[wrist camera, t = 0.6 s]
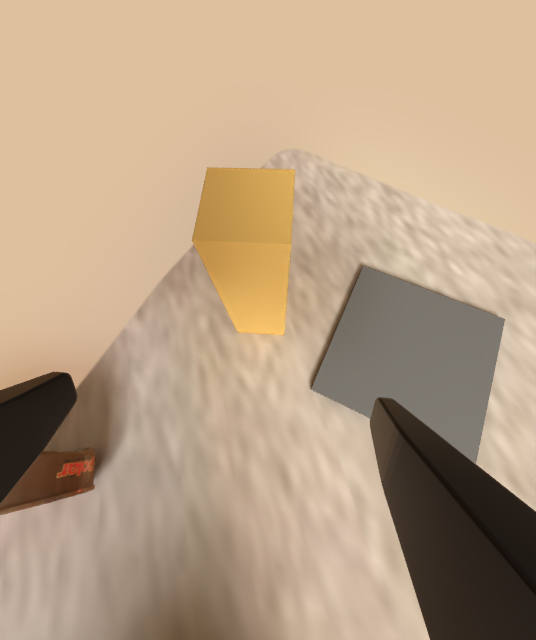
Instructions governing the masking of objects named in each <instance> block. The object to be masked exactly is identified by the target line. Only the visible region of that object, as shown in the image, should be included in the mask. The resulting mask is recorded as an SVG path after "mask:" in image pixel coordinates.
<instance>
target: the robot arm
mask: <svg viewBox="0 0 536 640" xmlns="http://www.w3.org/2000/svg"><path fill="white" fill-rule="evenodd" d="M76 401H77V392H76V389H75V386H74V383H73V380H72V378H71V376H70V375H69V374H68V373H63V372H52V373H49V374H46V375H43V376H40V377H37V378H34V379H31V380H29V381H26V382H23V383H20V384H17V385H14V386H12V387H9V388H6V389H3V390H0V504H1V503H2V502H3V500H4V499H5V498H6V497H7V495H8V494H9V493H10V492H11V490H12V489H13V488H14V487H15V485H16V484H17V483H18V482H19V480H20V479H21V478H22V477H23V475H24V474H25V473H26V472H27V470H28V469H29V468H30V467H31V465H32V464H33V463H34V462H35V460H36V459H37V458H38V456H39V455H40V454H41V453H42V451H43V450H44V448H45V447H46V446H47V444H48V443H49V441H50V440H51V438H52V437H53V435H54V434H55V432H56V431H57V430H58V428H59V427H60V425H61V424H62V422H63V421H64V419H65V418H66V416H67V415H68V413H69V412H70V410H71V409H72V407H73V406H74V404H75V403H76ZM370 429H371V434H372V439H373V444H374V449H375V454H376V459H377V463H378V468H379V473H380V478H381V482H382V486H383V490H384V493H385V497H386V500H387V503H388V506H389V509H390V513H391V516H392V519H393V522H394V525H395V529H396V532H397V535H398V538H399V541H400V545H401V548H402V551H403V554H404V557H405V561H406V564H407V567H408V570H409V573H410V577H411V580H412V583H413V586H414V589H415V593H416V596H417V599H418V602H419V605H420V609H421V612H422V615H423V618H424V621H425V625H426V628H427V631H428V634H429V638H430V640H536V511H534V510H533V509H532V508H531V507H529V506H528V505H527V504H526V503H524V502H523V501H522V500H520V499H519V498H518V497H517V496H515V495H514V494H513V493H512V492H510V491H509V490H508V489H507V488H505V487H504V486H503V485H502V484H500V483H499V482H498V481H496V480H495V479H494V478H493V477H491V476H490V475H489V474H488V473H486V472H485V471H484V470H483V469H481V468H480V467H479V466H478V465H476V464H475V463H474V462H472V461H471V460H470V459H469V458H467V457H466V456H465V455H464V454H462V453H461V452H460V451H459V450H457V449H456V448H455V447H454V446H452V445H451V444H450V443H448V442H447V441H446V440H445V439H443V438H442V437H441V436H440V435H438V434H437V433H436V432H435V431H433V430H432V429H431V428H430V427H428V426H427V425H426V424H424V423H423V422H422V421H421V420H419V419H418V418H417V417H416V416H414V415H413V414H412V413H411V412H409V411H408V410H407V409H406V408H404V407H403V406H402V405H400V404H399V403H398V402H397V401H395V400H394V399H392V398H385V397H378V398H376V400H375V403H374V406H373V410H372V414H371V418H370Z"/></svg>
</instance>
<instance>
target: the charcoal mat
mask: <svg viewBox="0 0 536 640" xmlns="http://www.w3.org/2000/svg"><path fill="white" fill-rule="evenodd" d="M504 321H505V319H503V318H501V317H498V316H495V315H493V314H490V313H488V312H485V311H482V310H480V309H477V308H474V307H472V306H469V305H466V304H464V303H461V302H458V301H456V300H453V299H451V298H448V297H445V296H443V295H440V294H437V293H435V292H432V291H429V290H427V289H424V288H421V287H419V286H416V285H414V284H411V283H408V282H406V281H403V280H400V279H398V278H395V277H392V276H390V275H387V274H385V273H382V272H379V271H377V270H374V269H371V268H369V267H366V266H363V268H362V269H361V272H360V274H359V276H358V279H357V281H356V283H355V286H354V288H353V291H352V293H351V295H350V298H349V300H348V302H347V305H346V307H345V309H344V312H343V314H342V317H341V319H340V321H339V324H338V326H337V328H336V331H335V333H334V335H333V338H332V340H331V342H330V345H329V347H328V350H327V352H326V354H325V357H324V359H323V361H322V364H321V366H320V368H319V371H318V373H317V375H316V378H315V380H314V383H313V385H312V387H311V390H313V391H315V392H318V393H320V394H322V395H324V396H326V397H328V398H330V399H332V400H334V401H336V402H338V403H340V404H342V405H344V406H346V407H348V408H350V409H352V410H354V411H356V412H358V413H360V414H363V415H365V416H367V417H369V418H371V414H372V410H373V406H374V403H375V400H376V398H378V397H385V398H392V399H394V400H395V401H397V402H398V403H399V404H400V405H402V406H403V407H404V408H406V409H407V410H408V411H409V412H411V413H412V414H413V415H414V416H416V417H417V418H418V419H419V420H421V421H422V422H423V423H424V424H426V425H427V426H428V427H430V428H431V429H432V430H433V431H435V432H436V433H437V434H438V435H440V436H441V437H442V438H443V439H445V440H446V441H447V442H448V443H450V444H451V445H452V446H454V447H455V448H456V449H457V450H459V451H460V452H461V453H462V454H464V455H465V456H466V457H467V458H469V459H470V460H471V461H472V462H474V463H475V464H476V460H477V455H478V450H479V445H480V440H481V435H482V430H483V425H484V420H485V415H486V410H487V405H488V400H489V396H490V391H491V386H492V381H493V376H494V371H495V366H496V361H497V356H498V351H499V346H500V341H501V336H502V331H503V326H504Z"/></svg>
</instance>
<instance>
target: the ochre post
mask: <svg viewBox="0 0 536 640" xmlns="http://www.w3.org/2000/svg"><path fill="white" fill-rule="evenodd" d="M294 180H295V169H248V168H207V172H206V177H205V181H204V186H203V191H202V195H201V200H200V205H199V210H198V215H197V220H196V224H195V229H194V234H193V238H192V241H193V243H194V245H195V247H196V249H197V251H198V253H199V255H200V257H201V259H202V261H203V263H204V265H205V267H206V269H207V271H208V273H209V275H210V277H211V279H212V282H213V284H214V286H215V288H216V290H217V292H218V294H219V296H220V298H221V300H222V302H223V304H224V306H225V308H226V310H227V312H228V314H229V316H230V318H231V320H232V322H233V324H234V326H235V328H236V330H237V332H240V333H257V334H273V335H284V330H285V317H286V305H287V292H288V279H289V266H290V253H291V239H292V219H293V200H294Z"/></svg>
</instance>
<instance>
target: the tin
mask: <svg viewBox="0 0 536 640" xmlns="http://www.w3.org/2000/svg"><path fill="white" fill-rule="evenodd" d="M94 469H95V451H94V449H93V448H87V449H84V450H81V451H76V452H42V453H41V454H40V455H39V456H38V458H37V459H36V460H35V462H34V463H33V464H32V465H31V467H30V468H29V469H28V470H27V472H26V473H25V474H24V475H23V477H22V478H21V479H20V480H19V482H18V483H17V484H16V485H15V487H14V488H13V489H12V490H11V492H10V493H9V494H8V495H7V497H6V498H5V499H4V500H3V502H2V503H1V504H0V515H2V514H7V513H11V512H15V511H19V510H23V509H27V508H30V507H34V506H39V505H42V504H46V503H50V502H53V501H57V500H60V499H64V498H68V497H72V496H75V495H78V494H82V493H85V492H88V491H90V490H93V489H94V488H95V485H94V484H93V482H94Z"/></svg>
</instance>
